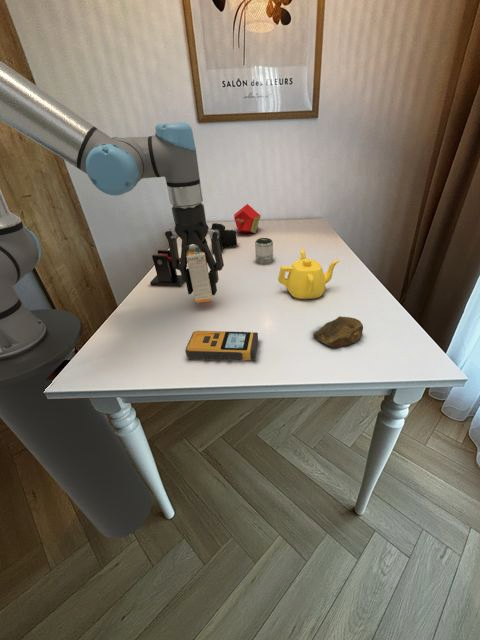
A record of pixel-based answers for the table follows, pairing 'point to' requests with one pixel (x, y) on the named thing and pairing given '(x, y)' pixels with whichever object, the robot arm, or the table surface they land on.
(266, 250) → the glass jar
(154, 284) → the lever bracket
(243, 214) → the red pentagonal block
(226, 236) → the film camera
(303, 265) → the teapot
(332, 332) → the decorative stone
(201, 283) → the supplement box
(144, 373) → the table surface
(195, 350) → the electronic device
